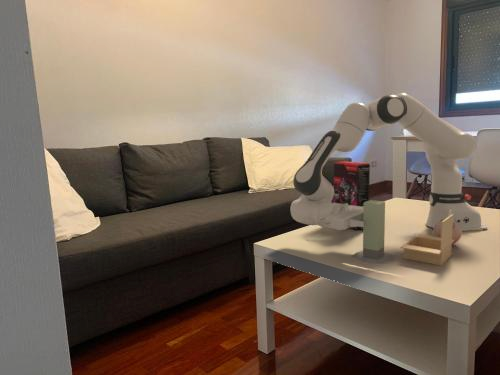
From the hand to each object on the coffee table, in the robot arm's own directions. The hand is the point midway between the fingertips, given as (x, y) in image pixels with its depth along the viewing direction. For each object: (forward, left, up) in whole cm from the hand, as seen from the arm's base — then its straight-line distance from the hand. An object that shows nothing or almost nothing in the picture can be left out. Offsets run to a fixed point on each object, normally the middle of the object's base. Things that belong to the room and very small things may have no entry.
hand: (370, 221), depth 127 cm
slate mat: (-1, 0, -12) cm, 12 cm away
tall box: (-1, 0, -12) cm, 12 cm away
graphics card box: (0, -42, -13) cm, 43 cm away
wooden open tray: (-18, 0, -12) cm, 22 cm away
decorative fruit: (-29, -13, -12) cm, 34 cm away
